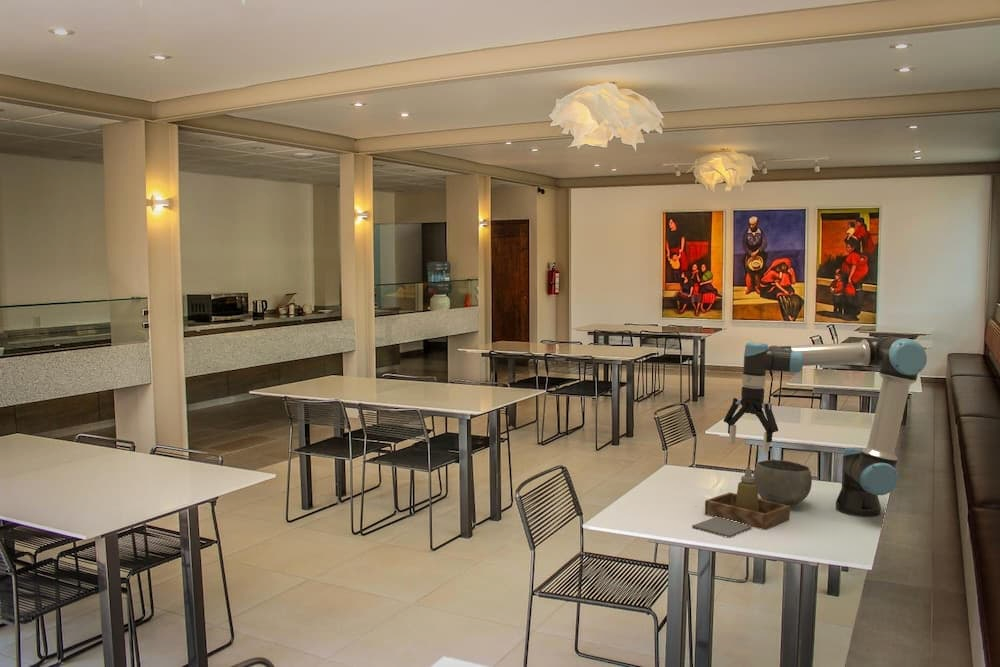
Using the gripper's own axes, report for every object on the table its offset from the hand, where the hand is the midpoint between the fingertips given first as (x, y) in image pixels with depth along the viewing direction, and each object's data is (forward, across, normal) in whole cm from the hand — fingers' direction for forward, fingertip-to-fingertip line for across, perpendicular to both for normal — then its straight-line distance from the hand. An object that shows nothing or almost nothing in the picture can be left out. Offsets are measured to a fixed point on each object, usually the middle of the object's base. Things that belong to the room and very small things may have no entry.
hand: (748, 447), depth 289 cm
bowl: (+25, -1, +26) cm, 36 cm away
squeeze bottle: (+25, 0, +1) cm, 25 cm away
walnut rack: (+25, 0, +1) cm, 25 cm away
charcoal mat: (+25, +3, -16) cm, 30 cm away
